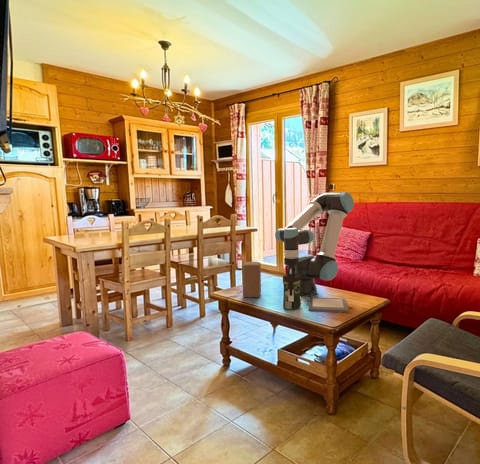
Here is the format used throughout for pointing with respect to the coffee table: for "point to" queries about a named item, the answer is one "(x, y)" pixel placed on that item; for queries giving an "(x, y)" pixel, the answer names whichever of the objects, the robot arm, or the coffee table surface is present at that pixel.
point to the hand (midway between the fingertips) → (291, 298)
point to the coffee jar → (296, 286)
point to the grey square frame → (328, 304)
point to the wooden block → (251, 279)
